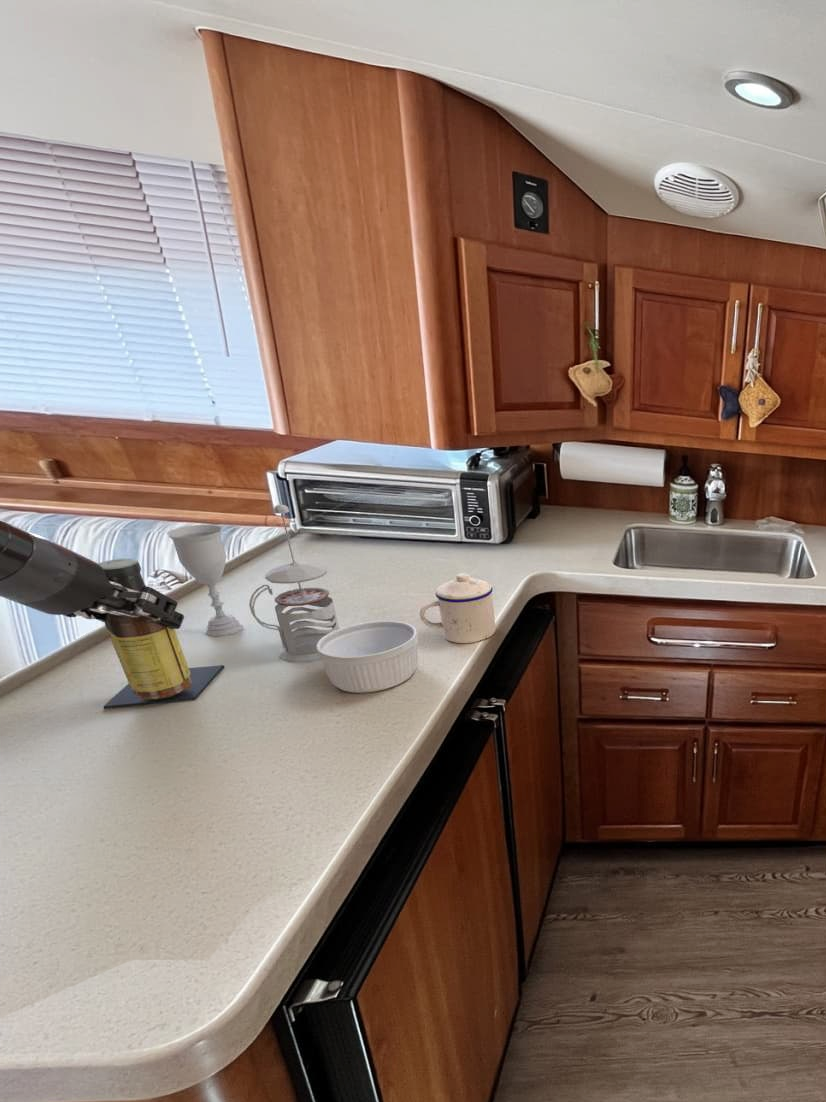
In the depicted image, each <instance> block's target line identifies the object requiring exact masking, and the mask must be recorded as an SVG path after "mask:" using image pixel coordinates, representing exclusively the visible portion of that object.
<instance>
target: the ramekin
mask: <svg viewBox="0 0 826 1102" xmlns="http://www.w3.org/2000/svg"><path fill="white" fill-rule="evenodd" d="M418 642H419V634H418V630H417V629H416V627H415V626H414V625H412V624H409V623H407V622H404V621H398V620H373V621H366V622H360V623H355V624H351V625H347V626H343V627H341V628H340V627H339V629H338V630H335V631H333V632H331V633H329V634H327V635H325V636H324V637H323V638H321V639H320V640H319V641H318V643H317V645H316V648H317V654H318V656H319V658H320V659H319V660H321V662H322V665H323V667H324V670H325V672H326V675H327V678H328V679H329V681H330V683H331V684H332V685H333V686H334V687H336V688H337V689H340V690H341V691H344V692H348V693H354V694H355V693H357V694H365V693H374V692H379V691H383V690H387V689H390V688H393V687H396V686H399V685H400V684H402V683H405V681H408V680H409V678H411V677H412V676H413V674H414V673H415V672H416V670H417V667H418V659H419V658H418V657H419V656H418V654H419V653H418Z"/></svg>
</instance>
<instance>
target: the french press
mask: <svg viewBox="0 0 826 1102" xmlns="http://www.w3.org/2000/svg"><path fill="white" fill-rule="evenodd" d="M273 512H274V514H280V515H281V518H282V522H283V527H284V531H285V535H286V539H287V542H288V548H289V551H290V555H291V559H292V562H286V563H284V564H281V565H278V566H276V567H273V568H271V569H270V570H269V571H268V572H266V573H265V574H264V579H265V580H267V581H268V582H269V583H272V584H280V585H281V584H298V588H296V589H291V590H287V591H284V592H282V593H279V594H278V595H277V596H276V597H274V602H275V603H276V604H275V606H274V611H275V614H276V619H277V622H278V625H277V624H271V623H266V622H264V621H262V620H260V619H259V617H258V616H256V611H255V605H256V601H257V599H258V597H259V596H260V595H261V594H262V593H263V592H265V591H267V590H268V591H267V592H268V593H269V595H271V596H273V595H274V594H273V589H272V588H271V587H270V585H268V584H262V585H261V586H259V587H258V588H256V589H255V590H254V592H253V593H252V594H251V596H250V599H249V609H250V613H251V615H252V616H253V618H254V619H255V620H256V622H257V623H258V624H259V625H260V626H262V627H263V628H266V629H269V630H275V631H278V633H279V637H280V641H281V644H282V647H281V649H280V650H279V651H278V657H279V658H280V659H282V660H283V661H287V662H294V663H302V662H314V661H318V660H321V659H320V658H319V656H318V654H317V648H316V645H317V643H318V641H319V640H320V639H321V638H323V637H324V636H325V635H327V634H329V633H331V632H333V631H335V630H338V629H340V627H339V622H338V616H337V614H336V608H335V603H334V600H333V598H332V597H330V596H329V595H330V591H329V590H328V589H325V588H322V587H303V588H302V587H301V583H306V582H310V581H314V580H318V579H320V578H323V577H324V576H325V575H326V574H327V572H328V567H326V566H324V565H322V564H319V563H315V562H309V561H295V558H294V557H295V556H294V553H293V549H292V545H291V542H290V538H289V537H290V536H289V532H288V529H287V525H286V520H285V516H284V514H286V513H289V512H290V509H289V506H287V505H286V504H277V505H275V506H274V508H273ZM264 587H265V588H264ZM263 588H264V589H263ZM261 589H262V590H261ZM259 590H260V591H259ZM258 591H259V592H258ZM304 606H312V607H317V608H319V609H314V608H311V607H304ZM288 607H291V608H290V609H288V610H286V609H287V608H288ZM284 610H286V611H285V612H283V611H284ZM300 611H303V612H300ZM294 612H298V613H294ZM299 612H300V613H299ZM310 620H316V621H321V622H315V621H310ZM314 627H319V628H325V629H319V628H314ZM326 628H327V629H326ZM330 628H331V629H330Z"/></svg>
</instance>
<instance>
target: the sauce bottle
mask: <svg viewBox="0 0 826 1102" xmlns="http://www.w3.org/2000/svg"><path fill="white" fill-rule="evenodd" d="M98 564H99V565H100V566H101V567H102V568H103V569H104V571H105V574H106V576H107V579H108V581H111V582H115V583H118V584H121V585H122V586H123V587H125V588H128V589H132V590H135V591H140V589H141V587H142V586H145V587H146V586H147V585H146V584H145V581H144V578H143V576H142V574H141V571H142V567H141V565H140V563H139V561H138V559H135V558H128V557H127V558H126V557H125V558H114V559H110V560H104V561H101V562H98ZM132 603H133V601H129V602H128V604H127V607H126V608H125V609H124V610H125V611H128V612H129V610H130V608H131V606H132ZM143 612H145V613H149V612H147V611H145V610H143ZM149 614H150V613H149ZM104 626H105V628H106V631H107V633H108V636H109V638H110V641H111V643H112V645H113V648H114V650H115V653H116V655H117V657H118V658H117V659H118V660H119V663H120V665H121V667H122V670H123V672H124V675H125V677H126V679H127V682H128V684H129V685H130V687H131V689H133V691H134V693H135V695H137V696H138V697H139V698H143V699H161V698H167V697H171V696H173V695H176V694H178V693H180V692H183V691H185V690H186V689H188V688H189V687H190V686H191V682H192V681H191V677H190V670H189V668H190V667H189V665H188V662H187V660H186V659H187V658H186V657H185V654H184V651H183V648H182V646H181V643H180V641H179V637H178V635H177V632H176V629H171V628H168V627H166V626H164V625H161V624H159V623H157V622H154V621H151V620H148V619H145V618H141V617H137V618H132V619H130V618H126V617H122V616H118V615H114V614H110V613H106V619H105V623H104Z"/></svg>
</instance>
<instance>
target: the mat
mask: <svg viewBox="0 0 826 1102" xmlns="http://www.w3.org/2000/svg"><path fill="white" fill-rule="evenodd" d="M188 668H189V670H190V677H191V681H192V682H191V686H190V687H189V688H188V689H186V690H185V691H183V692H180V693H178V694H176V695H173V696H171V697H167V698H161V699H143V698H139V697H138V696H137V695H135V693H134V691H133V689H131V687H130V685H129V683H127V684H126V685H125V686H124V687H122V689H120V691H118V692H117V693H116V694H115V695H114V696H113V697H112V698H110V699H109V700H108V701H107V702H106V703H105V704H104V705H103V706H102V708H103V709H104V710H107V709H117V708H125V707H126V708H127V707H136V706H146V705H157V704H167V703H177V702H186V701H187V702H188V701H195V700H196V699H197V698H198V697H199V696H201V694H202V693H203V692H204V691H205V690H206V688H207V687H208V686H209V685H210V684H211V683H212V682H213V681H214V680H215V678H217V676H218V675H219V674H220V673H221V672H222V670H224V668H225V665H224V664H219V665H208V666H198V667H197V666H196V667H195V666H194V667H188Z"/></svg>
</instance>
